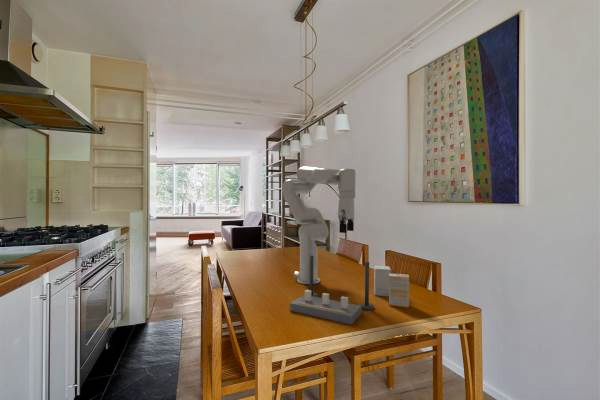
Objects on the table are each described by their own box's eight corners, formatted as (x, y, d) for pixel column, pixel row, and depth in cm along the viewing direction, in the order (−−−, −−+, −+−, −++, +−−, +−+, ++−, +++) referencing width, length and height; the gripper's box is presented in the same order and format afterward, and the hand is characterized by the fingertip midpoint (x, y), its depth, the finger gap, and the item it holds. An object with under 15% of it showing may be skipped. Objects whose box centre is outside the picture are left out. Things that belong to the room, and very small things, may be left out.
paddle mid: (321, 303, 118) (322, 294, 118) (323, 302, 119) (323, 292, 119) (327, 305, 117) (327, 295, 117) (329, 303, 118) (329, 293, 118)
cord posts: (302, 297, 135) (302, 256, 135) (308, 294, 140) (309, 254, 140) (371, 311, 119) (372, 264, 119) (375, 306, 124) (376, 261, 124)
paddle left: (304, 300, 122) (304, 290, 122) (306, 299, 123) (306, 289, 123) (309, 301, 121) (309, 291, 121) (311, 300, 122) (311, 290, 122)
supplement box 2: (408, 304, 127) (409, 274, 127) (409, 308, 123) (409, 277, 123) (388, 302, 130) (389, 272, 130) (388, 305, 126) (388, 275, 126)
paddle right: (340, 307, 114) (340, 297, 114) (342, 306, 116) (342, 296, 116) (346, 308, 113) (346, 298, 113) (348, 307, 114) (348, 297, 114)
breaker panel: (290, 310, 119) (290, 302, 119) (304, 301, 130) (304, 294, 130) (351, 324, 107) (351, 315, 107) (361, 313, 117) (361, 305, 117)
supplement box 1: (390, 296, 138) (391, 269, 137) (374, 295, 139) (374, 268, 139) (389, 291, 145) (389, 266, 145) (373, 290, 146) (374, 265, 146)
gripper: (345, 195, 147) (345, 229, 147) (332, 194, 132) (332, 233, 132) (360, 195, 144) (360, 230, 144) (348, 194, 129) (347, 234, 129)
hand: (346, 231), depth 138 cm, fingers open, 9 cm apart
